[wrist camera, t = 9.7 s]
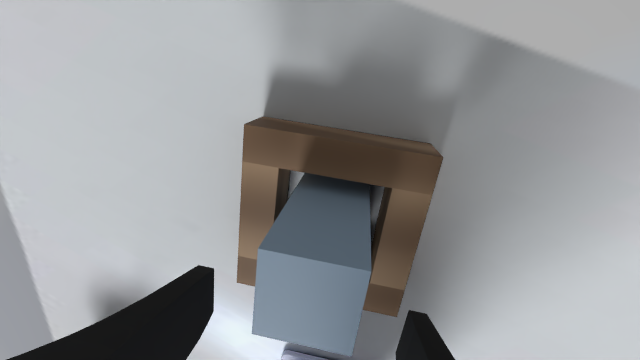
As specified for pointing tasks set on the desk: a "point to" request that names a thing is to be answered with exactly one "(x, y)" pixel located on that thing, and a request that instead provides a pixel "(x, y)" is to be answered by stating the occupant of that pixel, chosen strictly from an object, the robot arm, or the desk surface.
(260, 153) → the walnut collar
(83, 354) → the robot arm
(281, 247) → the slate-blue peg
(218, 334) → the desk surface
